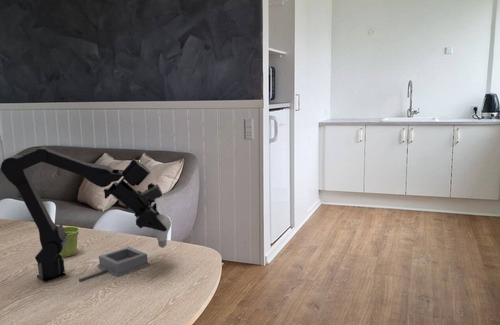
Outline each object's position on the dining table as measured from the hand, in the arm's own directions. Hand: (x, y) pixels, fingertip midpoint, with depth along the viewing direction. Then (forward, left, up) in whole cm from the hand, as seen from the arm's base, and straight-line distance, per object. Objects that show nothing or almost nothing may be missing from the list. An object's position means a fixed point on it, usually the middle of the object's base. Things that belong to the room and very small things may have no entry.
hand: (165, 227), depth 140 cm
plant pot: (-17, +36, -13) cm, 42 cm away
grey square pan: (-15, +10, -13) cm, 22 cm away
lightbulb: (-1, +1, -7) cm, 7 cm away
